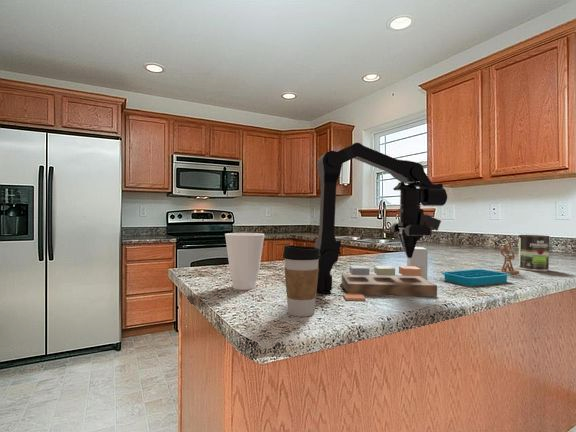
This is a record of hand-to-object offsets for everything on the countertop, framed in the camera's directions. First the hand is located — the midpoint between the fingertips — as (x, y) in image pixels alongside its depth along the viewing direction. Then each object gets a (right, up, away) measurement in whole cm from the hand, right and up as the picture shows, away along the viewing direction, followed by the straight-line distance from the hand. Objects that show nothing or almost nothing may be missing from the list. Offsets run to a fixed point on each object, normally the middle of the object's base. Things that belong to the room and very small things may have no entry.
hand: (409, 257), depth 100 cm
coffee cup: (-33, -9, -25) cm, 43 cm away
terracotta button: (0, -5, 0) cm, 5 cm away
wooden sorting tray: (-7, -9, -1) cm, 12 cm away
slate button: (-15, -5, +1) cm, 16 cm away
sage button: (-7, -5, 0) cm, 9 cm away
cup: (-49, -9, 0) cm, 50 cm away
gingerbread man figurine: (+48, -10, +28) cm, 56 cm away
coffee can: (+65, -10, +38) cm, 76 cm away
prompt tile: (-19, -9, -12) cm, 24 cm away
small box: (+9, -9, +18) cm, 23 cm away
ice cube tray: (+27, -10, +13) cm, 31 cm away
